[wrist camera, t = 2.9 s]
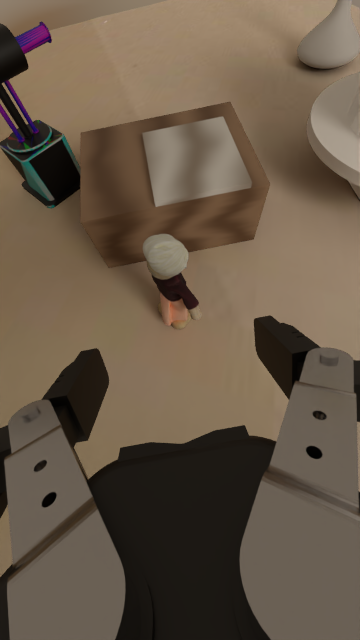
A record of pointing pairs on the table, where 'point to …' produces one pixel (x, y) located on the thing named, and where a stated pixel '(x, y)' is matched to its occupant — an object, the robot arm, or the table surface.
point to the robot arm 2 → (34, 128)
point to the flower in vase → (331, 40)
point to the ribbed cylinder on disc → (338, 128)
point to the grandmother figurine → (171, 279)
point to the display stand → (170, 183)
